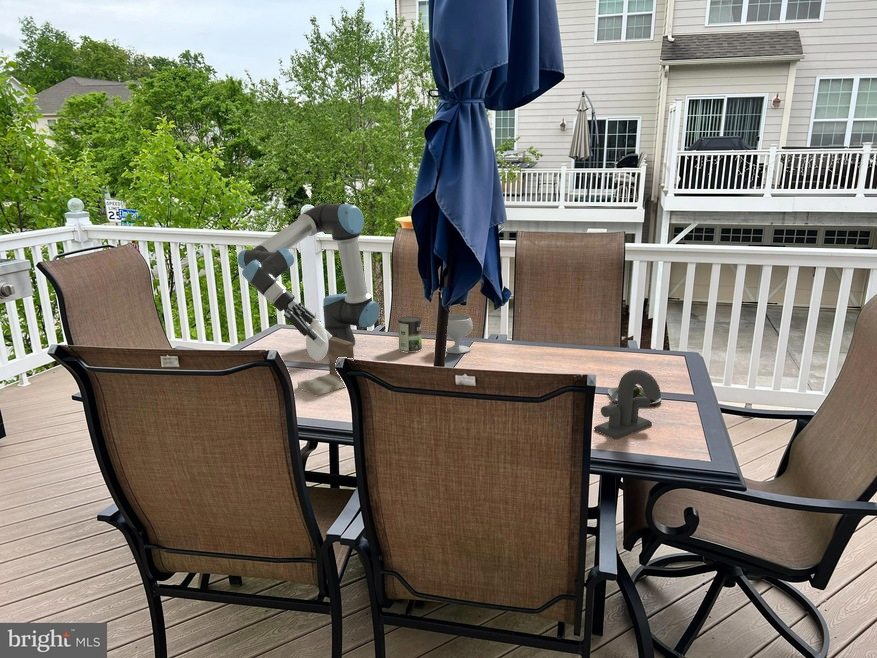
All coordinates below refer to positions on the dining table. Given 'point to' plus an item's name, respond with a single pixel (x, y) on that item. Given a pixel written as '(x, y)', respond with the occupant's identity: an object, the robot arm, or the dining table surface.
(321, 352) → the sauce bottle
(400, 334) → the coffee can
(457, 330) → the chalice
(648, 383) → the faucet
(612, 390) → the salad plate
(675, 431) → the dining table surface
